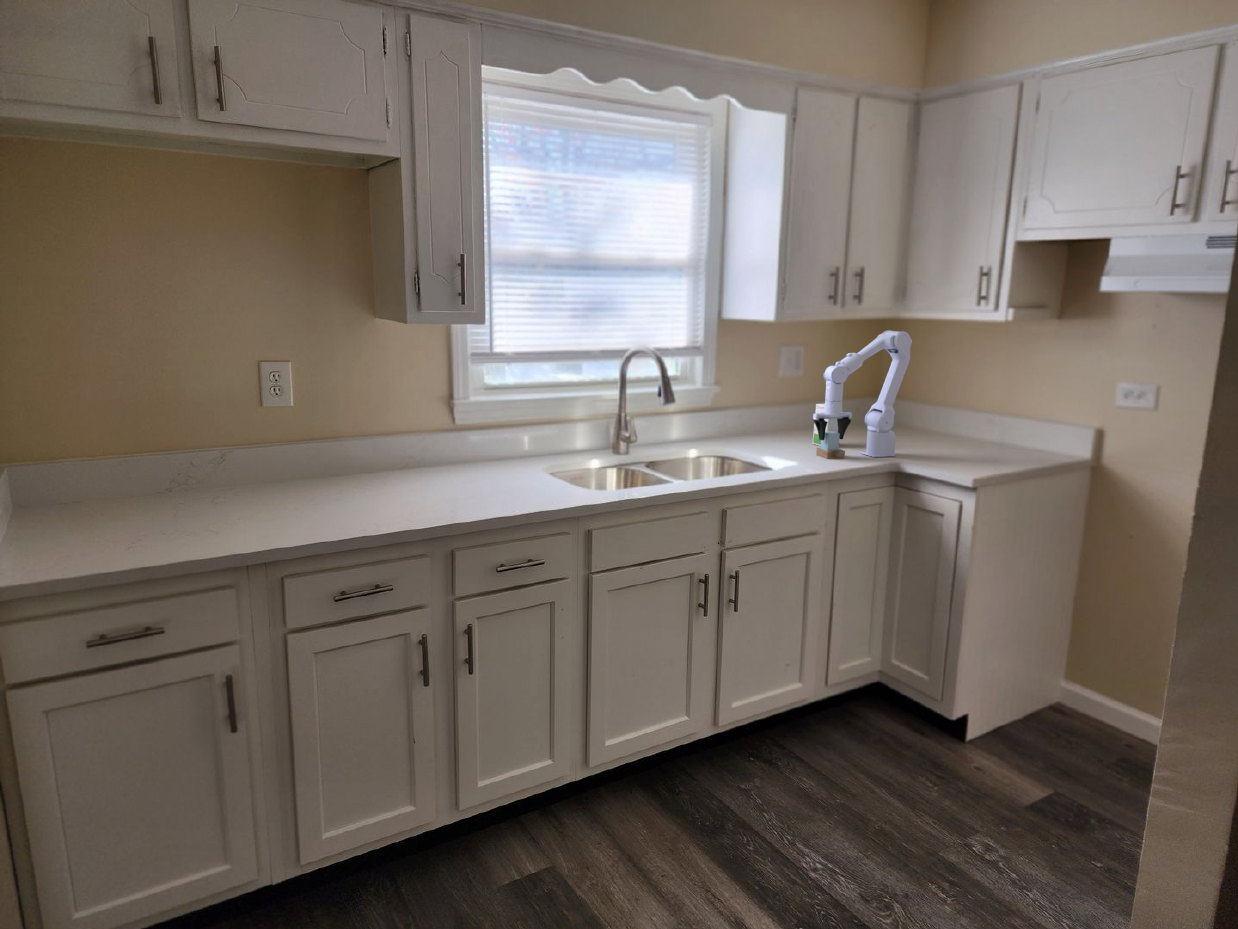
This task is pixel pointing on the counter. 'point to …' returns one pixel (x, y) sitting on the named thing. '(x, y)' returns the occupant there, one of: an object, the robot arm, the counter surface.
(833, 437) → the blue block
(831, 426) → the skincare box
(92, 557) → the counter surface
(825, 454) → the walnut base
